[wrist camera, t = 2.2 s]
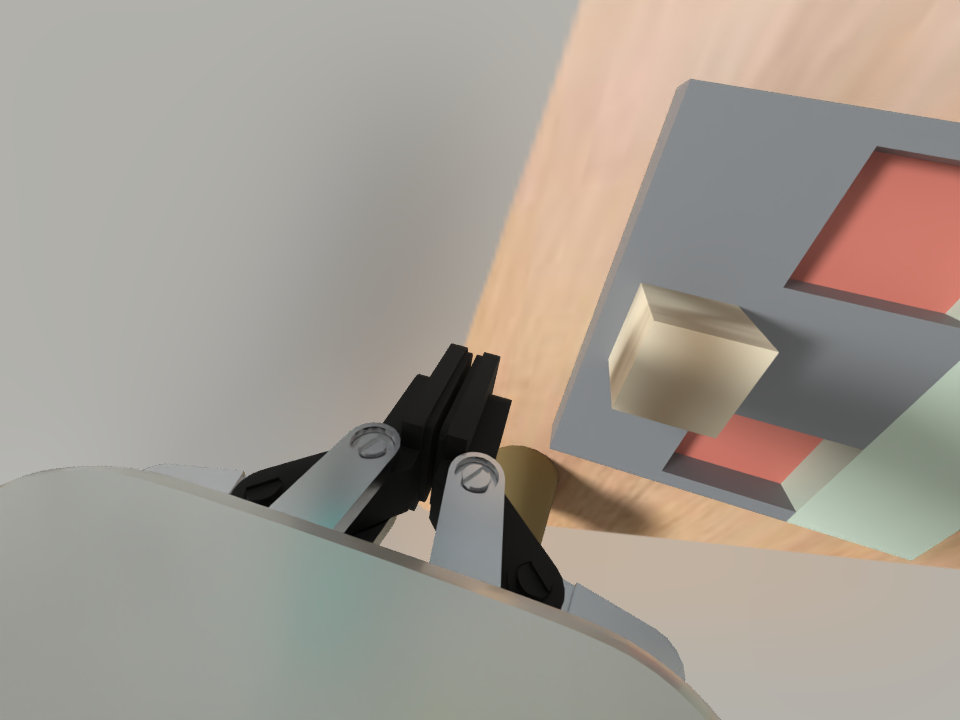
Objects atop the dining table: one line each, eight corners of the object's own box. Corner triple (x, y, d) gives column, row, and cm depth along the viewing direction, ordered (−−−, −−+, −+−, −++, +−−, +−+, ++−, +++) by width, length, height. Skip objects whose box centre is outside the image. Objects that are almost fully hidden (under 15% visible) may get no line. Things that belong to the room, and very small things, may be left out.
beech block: (738, 305, 17) (779, 352, 13) (692, 381, 19) (715, 438, 16) (640, 282, 18) (654, 320, 14) (608, 358, 20) (612, 408, 16)
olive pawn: (555, 504, 31) (539, 656, 22) (486, 490, 32) (444, 627, 23) (562, 452, 28) (547, 605, 19) (485, 439, 29) (437, 575, 20)
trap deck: (1324, 195, 13) (1468, 205, 11) (883, 523, 24) (911, 560, 21) (677, 87, 16) (690, 78, 13) (552, 424, 26) (549, 448, 24)
